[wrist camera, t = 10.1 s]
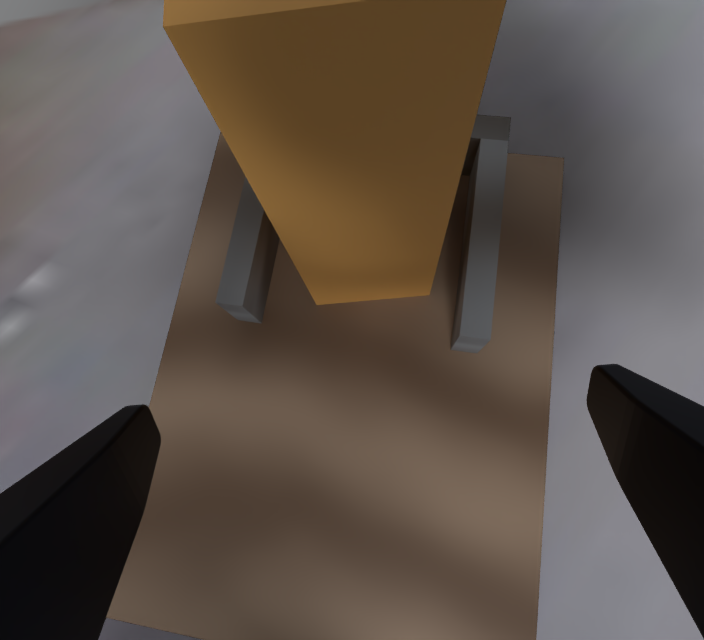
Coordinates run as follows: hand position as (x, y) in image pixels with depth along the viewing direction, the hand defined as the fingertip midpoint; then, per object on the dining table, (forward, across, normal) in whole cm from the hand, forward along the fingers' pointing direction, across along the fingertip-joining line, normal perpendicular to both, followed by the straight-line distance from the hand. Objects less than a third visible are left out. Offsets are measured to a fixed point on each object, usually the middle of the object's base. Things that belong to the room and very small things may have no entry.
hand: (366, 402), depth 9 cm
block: (+11, 0, +1) cm, 11 cm away
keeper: (+8, +1, +5) cm, 10 cm away
